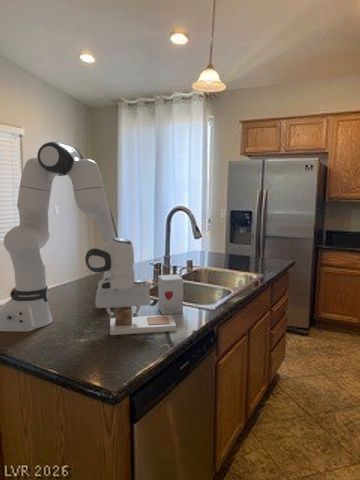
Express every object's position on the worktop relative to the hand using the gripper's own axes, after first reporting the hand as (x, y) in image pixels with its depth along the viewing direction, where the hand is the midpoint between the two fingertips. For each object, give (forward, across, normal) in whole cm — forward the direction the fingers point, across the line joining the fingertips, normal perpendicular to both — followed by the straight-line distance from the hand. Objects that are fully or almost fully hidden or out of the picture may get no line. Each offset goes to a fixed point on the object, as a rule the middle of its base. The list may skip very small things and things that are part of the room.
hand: (123, 317), depth 138 cm
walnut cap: (+2, 0, 0) cm, 2 cm away
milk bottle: (+4, +5, -36) cm, 37 cm away
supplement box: (+4, -20, -16) cm, 26 cm away
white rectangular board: (+4, -7, 0) cm, 8 cm away
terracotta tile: (+2, -13, 0) cm, 13 cm away
